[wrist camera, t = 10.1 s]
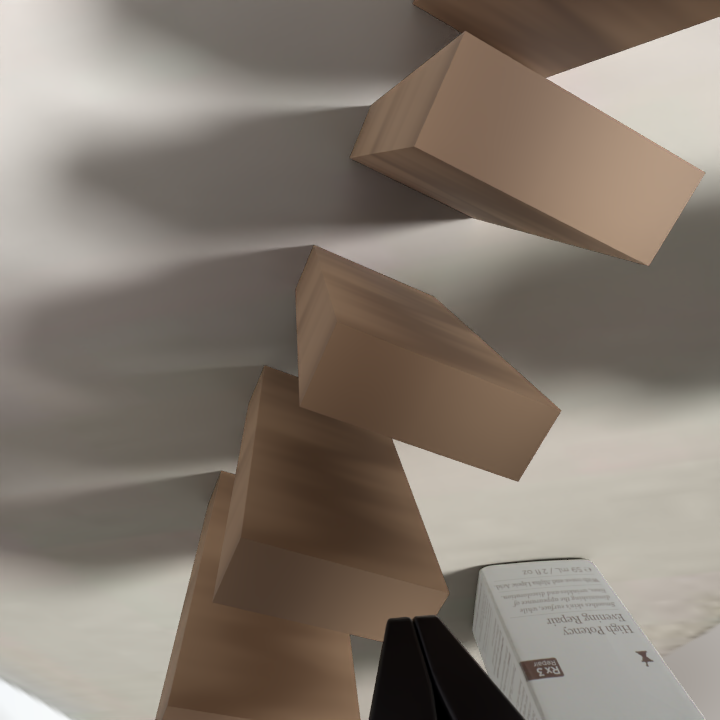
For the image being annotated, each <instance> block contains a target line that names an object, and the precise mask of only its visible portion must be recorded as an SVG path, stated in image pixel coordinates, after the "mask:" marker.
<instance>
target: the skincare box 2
mask: <svg viewBox="0 0 720 720" xmlns="http://www.w3.org/2000/svg"><path fill="white" fill-rule="evenodd" d="M472 631H473V635H474V638H475V640H476V643H477V646H478V648H479V651H480V654H481V657H482V659H483V662H484V665H485V668H486V670H487V673H488V676H489V677H490V678H491V679H492V681H493V682H494V683H495V684H496V685H497V687H498V688H499V689H500V690H501V691H502V692H503V694H504V695H505V696H506V697H507V698H508V700H509V701H510V702H511V703H512V704H513V705H514V707H515V708H516V709H517V710H518V711H519V712H520V714H521V715H522V716H523V717H524V718H525V720H706V719H705V717H704V716H703V715H702V713H701V712H700V710H699V709H698V707H697V706H696V705H695V703H694V702H693V701H692V699H691V698H690V697H689V695H688V694H687V692H686V691H685V690H684V688H683V687H682V685H681V684H680V683H679V681H678V680H677V678H676V677H675V676H674V674H673V673H672V671H671V670H670V669H669V667H668V666H667V665H666V663H665V662H664V660H663V659H662V657H661V656H660V654H659V653H658V652H657V650H656V649H655V648H654V646H653V645H652V643H651V642H650V641H649V639H648V638H647V637H646V635H645V634H644V632H643V631H642V630H641V628H640V627H639V625H638V624H637V623H636V621H635V620H634V618H633V617H632V615H631V614H630V613H629V611H628V610H627V608H626V607H625V606H624V604H623V603H622V602H621V600H620V599H619V597H618V596H617V595H616V593H615V592H614V591H613V589H612V588H611V586H610V585H609V584H608V582H607V581H606V579H605V578H604V577H603V575H602V574H601V572H600V571H599V570H598V568H597V567H596V565H595V564H594V563H593V562H591V561H590V560H586V559H578V560H552V561H535V562H522V563H512V564H500V565H491V566H487V567H484V568H482V569H481V570H480V571H479V578H478V584H477V592H476V601H475V608H474V618H473V628H472Z"/></svg>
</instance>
